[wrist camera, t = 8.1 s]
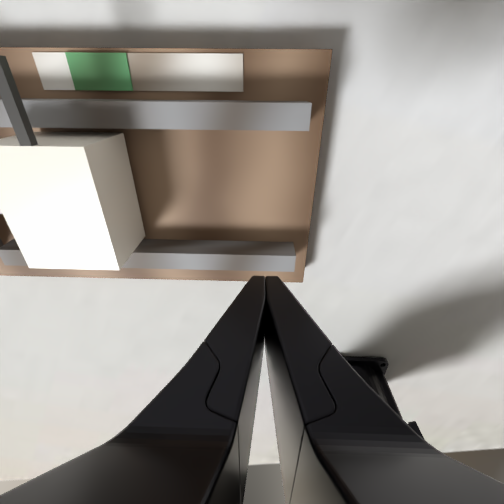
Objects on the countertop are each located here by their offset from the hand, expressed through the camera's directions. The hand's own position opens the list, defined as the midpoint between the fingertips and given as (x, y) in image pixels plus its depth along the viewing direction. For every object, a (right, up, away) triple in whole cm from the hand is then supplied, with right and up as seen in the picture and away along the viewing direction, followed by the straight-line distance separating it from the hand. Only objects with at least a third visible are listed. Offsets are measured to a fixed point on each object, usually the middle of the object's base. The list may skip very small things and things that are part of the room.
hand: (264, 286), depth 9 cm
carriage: (-12, +6, +7) cm, 15 cm away
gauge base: (-9, +6, +9) cm, 14 cm away
